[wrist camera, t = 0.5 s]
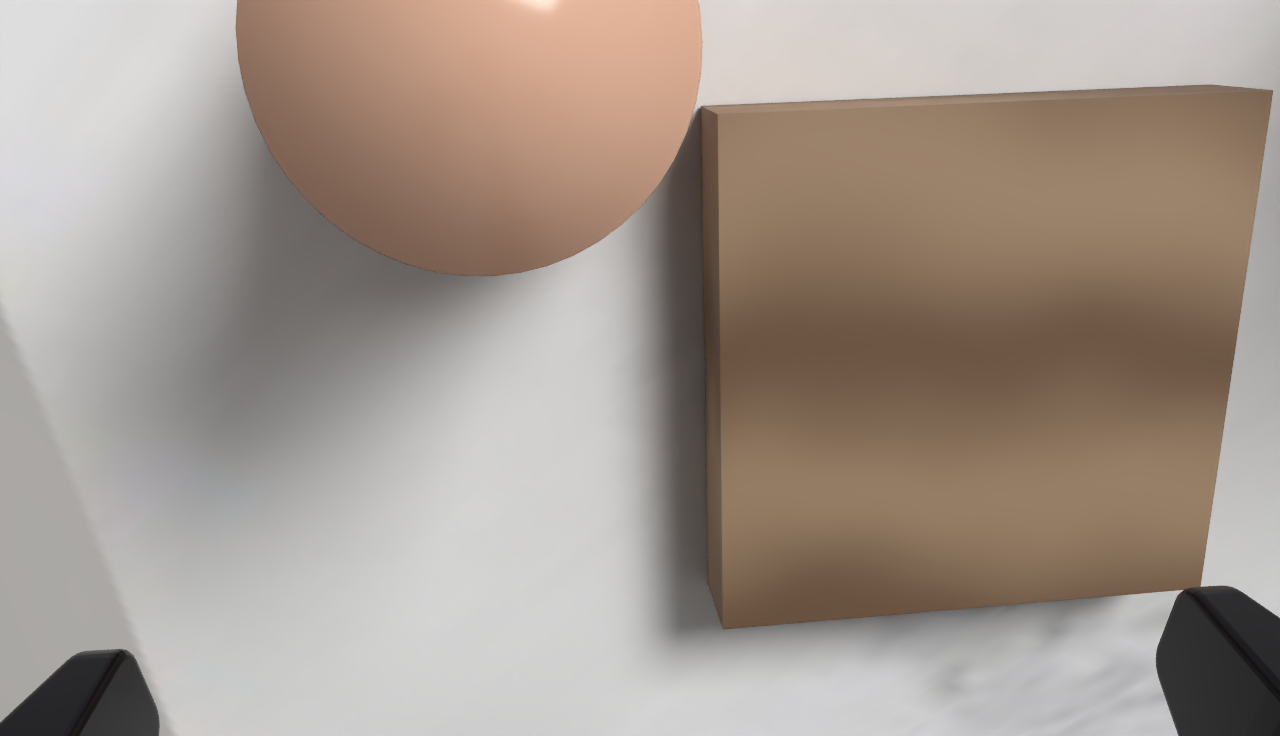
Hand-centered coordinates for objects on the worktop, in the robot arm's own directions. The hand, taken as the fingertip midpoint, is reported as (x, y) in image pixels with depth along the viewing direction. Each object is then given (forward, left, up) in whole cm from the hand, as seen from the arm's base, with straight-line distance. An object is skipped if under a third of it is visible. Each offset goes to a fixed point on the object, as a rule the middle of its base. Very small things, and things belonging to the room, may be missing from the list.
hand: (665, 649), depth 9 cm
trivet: (-2, -8, -14) cm, 16 cm away
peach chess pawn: (+5, +1, -14) cm, 15 cm away
